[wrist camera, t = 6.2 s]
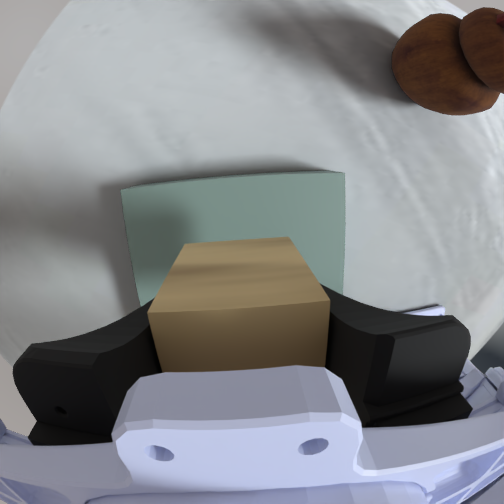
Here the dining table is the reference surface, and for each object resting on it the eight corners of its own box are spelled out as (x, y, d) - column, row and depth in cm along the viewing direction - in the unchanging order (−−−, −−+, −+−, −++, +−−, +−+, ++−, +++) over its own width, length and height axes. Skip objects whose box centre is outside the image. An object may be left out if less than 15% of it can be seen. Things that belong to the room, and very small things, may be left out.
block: (289, 325, 14) (318, 419, 8) (197, 332, 14) (180, 428, 8) (288, 236, 13) (330, 300, 7) (184, 243, 13) (147, 312, 7)
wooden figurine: (363, 58, 17) (520, -28, 2) (406, 27, 16) (543, -39, 1) (419, 131, 18) (597, 137, 4) (456, 95, 17) (607, 85, 3)
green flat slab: (327, 317, 23) (339, 338, 20) (161, 329, 22) (152, 352, 19) (329, 170, 19) (345, 172, 16) (136, 185, 19) (120, 190, 16)
